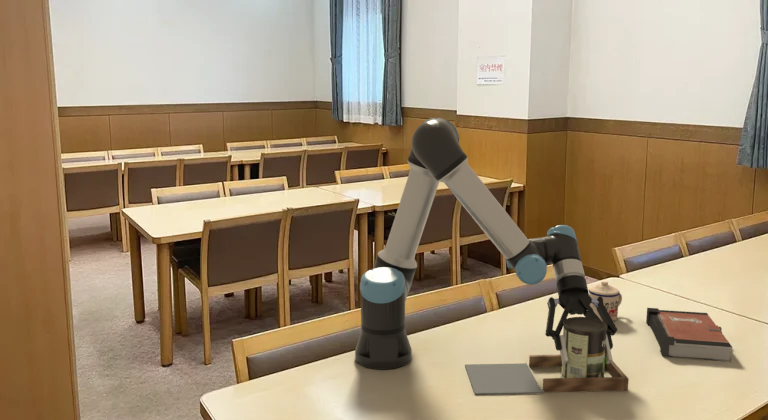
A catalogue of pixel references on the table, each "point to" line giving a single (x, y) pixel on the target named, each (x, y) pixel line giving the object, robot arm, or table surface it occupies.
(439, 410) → the table surface
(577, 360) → the coffee can
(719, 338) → the book
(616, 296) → the teacup with lid
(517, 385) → the rubber mat
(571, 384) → the frame
